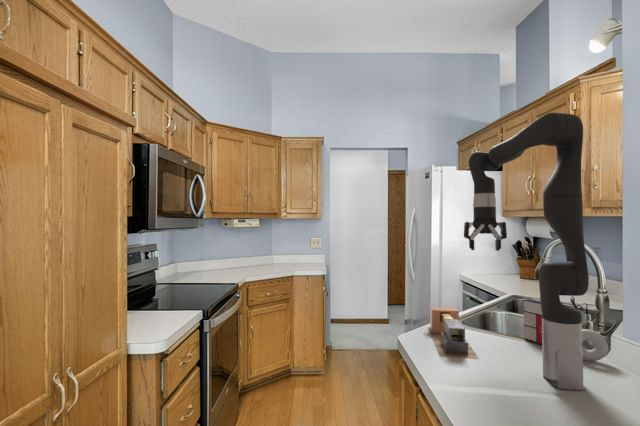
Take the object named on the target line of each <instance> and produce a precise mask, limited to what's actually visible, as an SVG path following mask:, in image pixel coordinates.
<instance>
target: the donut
mask: <svg viewBox="0 0 640 426" xmlns="http://www.w3.org/2000/svg"><path fill="white" fill-rule="evenodd" d="M584 341H591V342H592V343H593V344H594V348H592V349H586V347H584V346H583V345H582V355H583V361H584V360H585V361H588V362H597V361H601V360H602V359H603V358H605V357H606V355H607V354H608V350H609V345H608V342H607V340H606V339H605V337H603V335H601V333H599V332H597V331H595V330H592V329H589V328H582V343H583V342H584Z"/></svg>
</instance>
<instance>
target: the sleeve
mask: <svg viewBox="0 0 640 426" xmlns="http://www.w3.org/2000/svg"><path fill="white" fill-rule="evenodd" d="M451 330H458V335H451ZM468 343H469V342H468V340H467V339H466V328H465V327H464V325H462V323H461V322H460V320H458V319H444V333H441V344H442V346H443V348H444V350H445V352H446V353H461V354H468Z"/></svg>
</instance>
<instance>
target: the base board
mask: <svg viewBox="0 0 640 426" xmlns="http://www.w3.org/2000/svg"><path fill="white" fill-rule="evenodd" d="M427 330H428V332H429V334H430V336H431V339H432V341H433V344H434V346H435V348H436V352H437V353H438V356H439V357H440V358H455V359H456V358H458V359H470V360H471V359H472V360H473V359H474V360H480V358H479V356H478V355H477V353H476V352H475V350H474V349H473V348H472V346H471V345H470V343H469V342H468V354H461V353H446V352H445V350H444V348H443V346H442V344H441V333H440V332H432V331H431V326H428V327H427Z"/></svg>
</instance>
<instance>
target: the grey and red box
mask: <svg viewBox="0 0 640 426" xmlns="http://www.w3.org/2000/svg"><path fill="white" fill-rule="evenodd" d="M523 339H524V340H526V339H528V340H527V341H529V340H532V341H531V342H532V343H536V344H540V345H542V310H541V303H540V299H534V298H527V299H523Z"/></svg>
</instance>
